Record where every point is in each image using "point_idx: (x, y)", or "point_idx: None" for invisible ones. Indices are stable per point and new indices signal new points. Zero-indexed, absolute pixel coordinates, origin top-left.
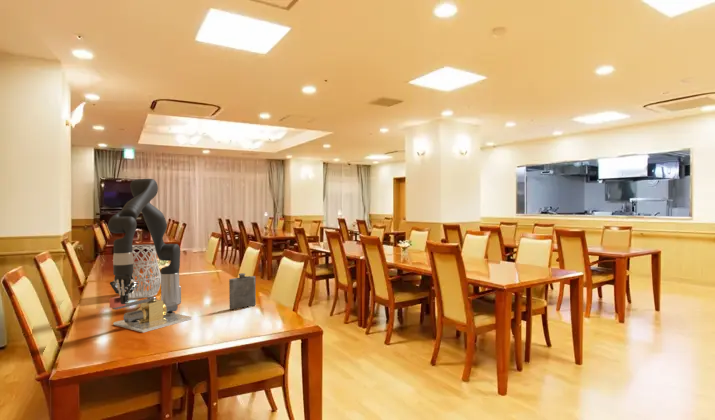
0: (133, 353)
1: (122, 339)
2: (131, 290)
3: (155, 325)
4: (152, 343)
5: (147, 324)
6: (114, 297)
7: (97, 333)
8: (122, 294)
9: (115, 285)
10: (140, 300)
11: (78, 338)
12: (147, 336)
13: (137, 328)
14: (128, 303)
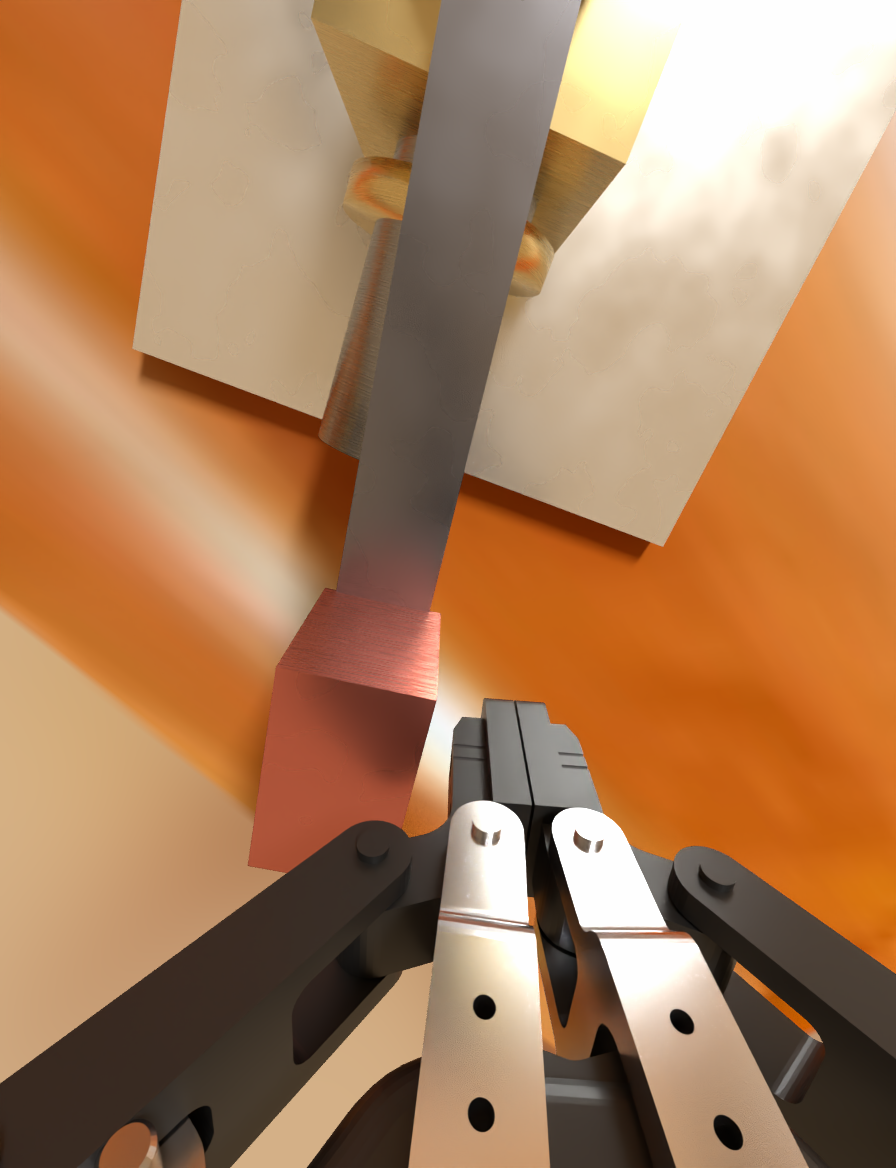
0: (834, 901)
1: (590, 714)
2: (768, 939)
3: (712, 383)
4: (875, 750)
5: (595, 361)
6: (301, 818)
7: (260, 623)
8: (540, 926)
9: (213, 1148)
10: (449, 186)
11: (233, 744)
12: (753, 623)
13: (577, 514)
14: (399, 495)
